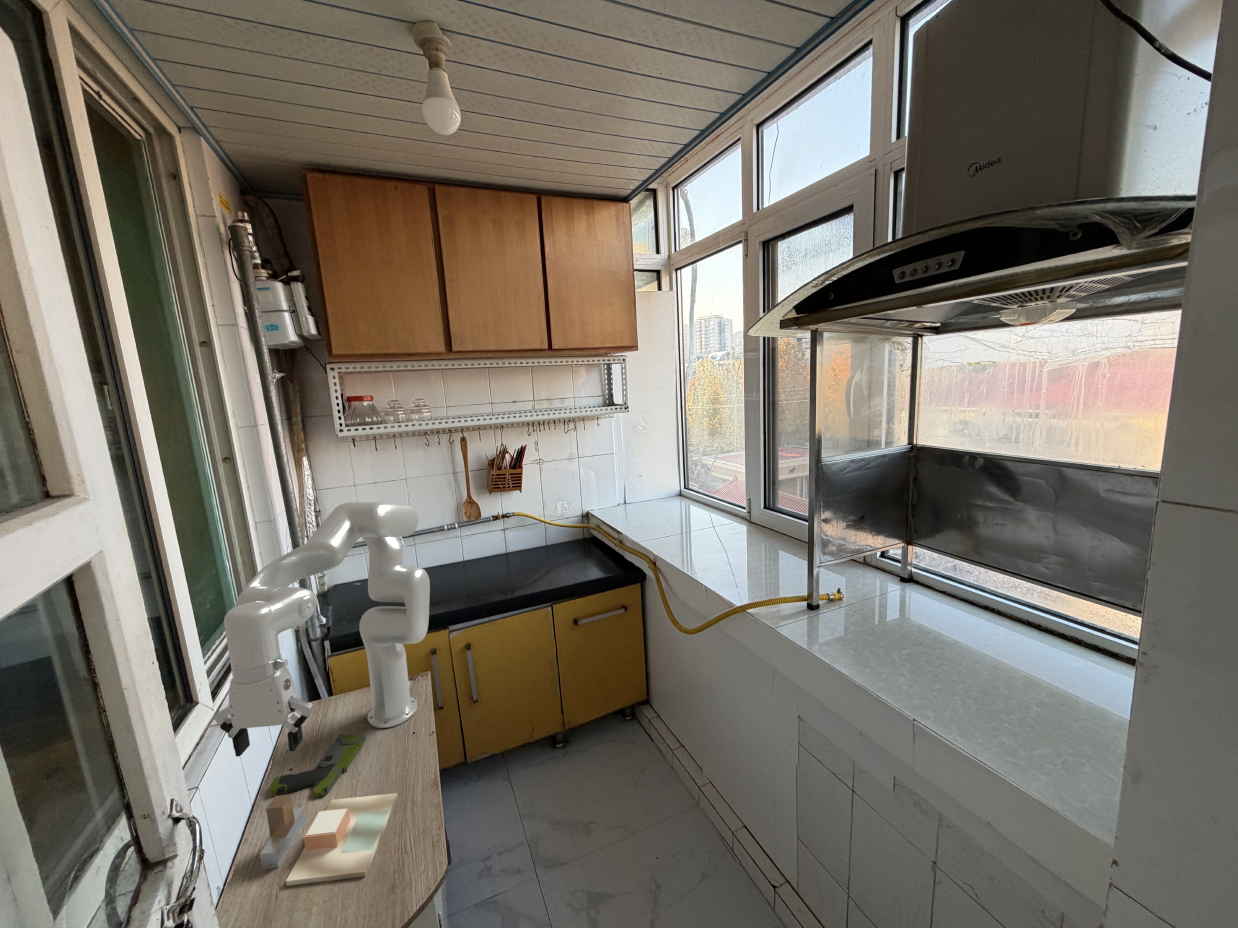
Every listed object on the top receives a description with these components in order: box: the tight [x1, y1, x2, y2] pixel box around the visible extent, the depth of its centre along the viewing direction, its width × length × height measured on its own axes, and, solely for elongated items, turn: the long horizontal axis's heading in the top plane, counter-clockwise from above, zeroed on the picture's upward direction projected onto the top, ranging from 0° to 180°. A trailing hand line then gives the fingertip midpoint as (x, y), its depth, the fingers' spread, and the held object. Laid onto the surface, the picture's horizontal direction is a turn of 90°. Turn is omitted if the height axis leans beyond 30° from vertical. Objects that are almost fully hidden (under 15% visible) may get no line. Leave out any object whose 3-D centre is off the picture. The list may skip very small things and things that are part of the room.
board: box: [285, 792, 399, 887], centre depth 100 cm, size 18×14×1 cm
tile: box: [303, 808, 351, 850], centre depth 99 cm, size 6×6×3 cm
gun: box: [270, 733, 367, 799], centre depth 119 cm, size 2×19×15 cm
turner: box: [259, 794, 307, 870], centre depth 98 cm, size 10×3×10 cm, turn 6°
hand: (269, 748), depth 95 cm, fingers open, 9 cm apart
